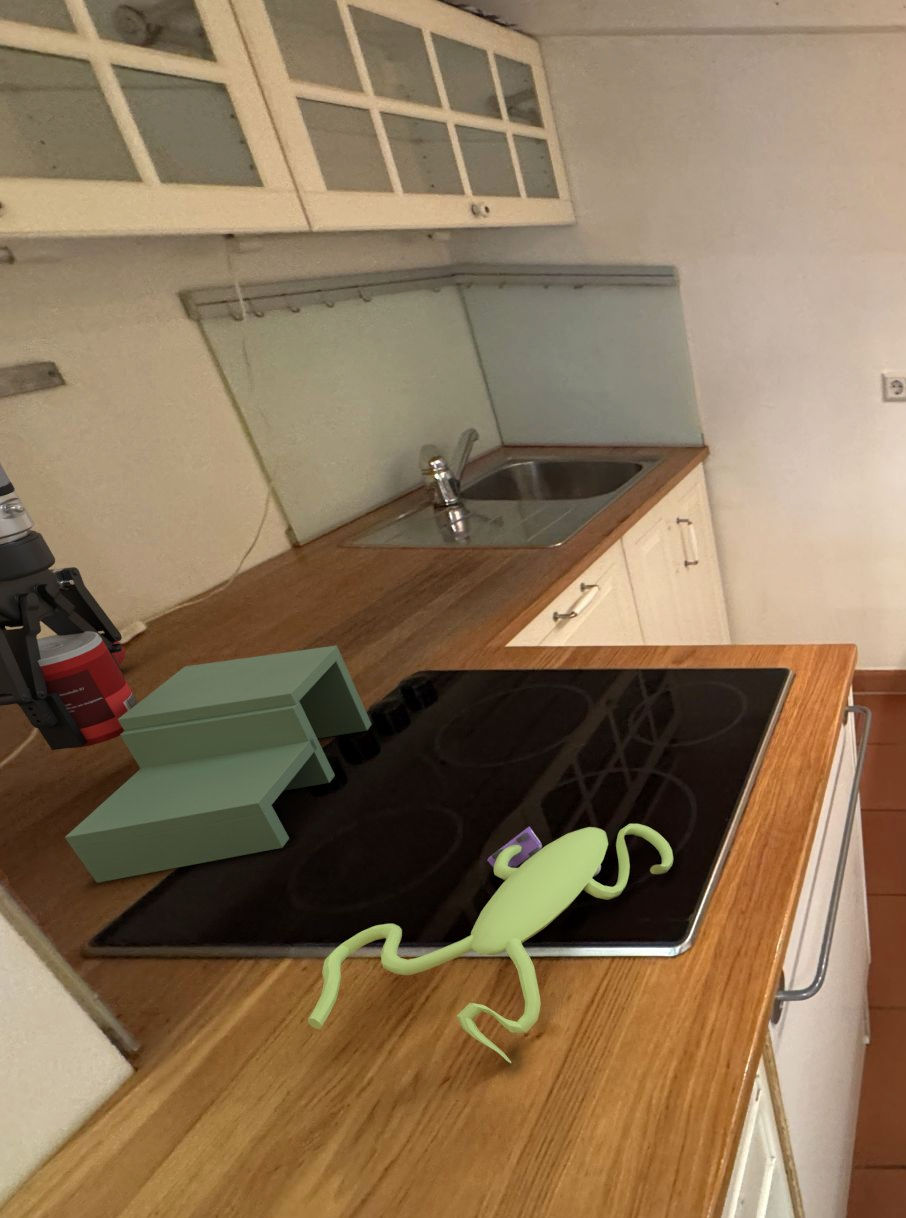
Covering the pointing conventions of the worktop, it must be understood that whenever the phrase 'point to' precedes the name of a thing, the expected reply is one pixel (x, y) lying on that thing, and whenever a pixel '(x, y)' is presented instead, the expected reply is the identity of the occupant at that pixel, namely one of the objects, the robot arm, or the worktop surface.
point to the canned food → (86, 683)
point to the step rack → (219, 761)
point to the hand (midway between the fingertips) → (97, 724)
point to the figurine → (509, 915)
